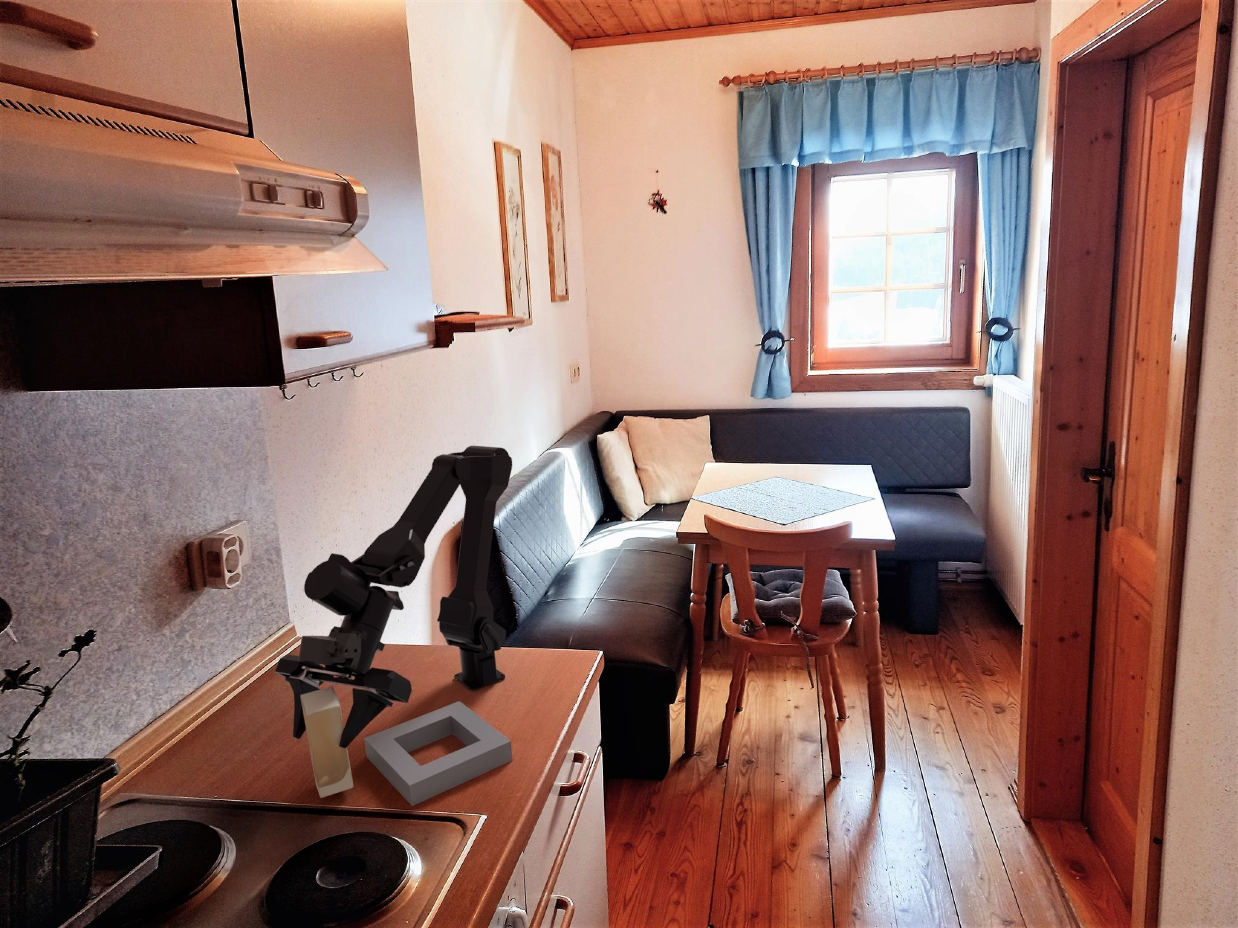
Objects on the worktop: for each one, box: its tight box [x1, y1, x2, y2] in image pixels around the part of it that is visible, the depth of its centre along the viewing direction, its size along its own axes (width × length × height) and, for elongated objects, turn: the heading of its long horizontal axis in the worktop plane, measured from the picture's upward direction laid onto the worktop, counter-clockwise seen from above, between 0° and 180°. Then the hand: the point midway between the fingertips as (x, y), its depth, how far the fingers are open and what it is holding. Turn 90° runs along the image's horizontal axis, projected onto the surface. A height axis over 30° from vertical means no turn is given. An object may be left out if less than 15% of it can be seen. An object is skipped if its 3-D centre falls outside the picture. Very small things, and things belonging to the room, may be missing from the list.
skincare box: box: [300, 686, 354, 799], centre depth 110 cm, size 6×4×12 cm
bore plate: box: [363, 701, 514, 807], centre depth 117 cm, size 15×15×3 cm
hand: (318, 742), depth 108 cm, fingers closed on skincare box, 7 cm apart
